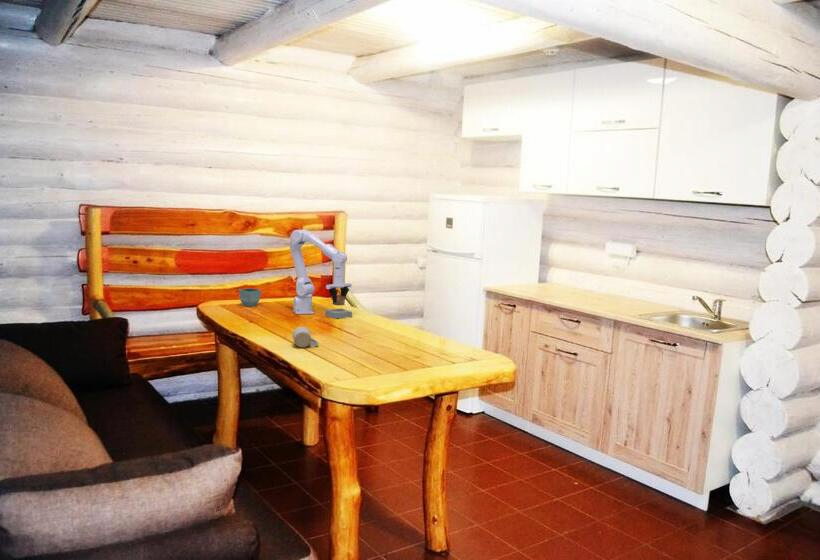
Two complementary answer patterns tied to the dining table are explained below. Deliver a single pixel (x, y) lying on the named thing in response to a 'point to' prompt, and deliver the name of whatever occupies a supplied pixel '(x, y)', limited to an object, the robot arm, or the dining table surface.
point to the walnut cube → (340, 300)
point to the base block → (338, 313)
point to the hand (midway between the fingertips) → (338, 301)
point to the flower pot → (249, 296)
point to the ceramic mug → (303, 337)
